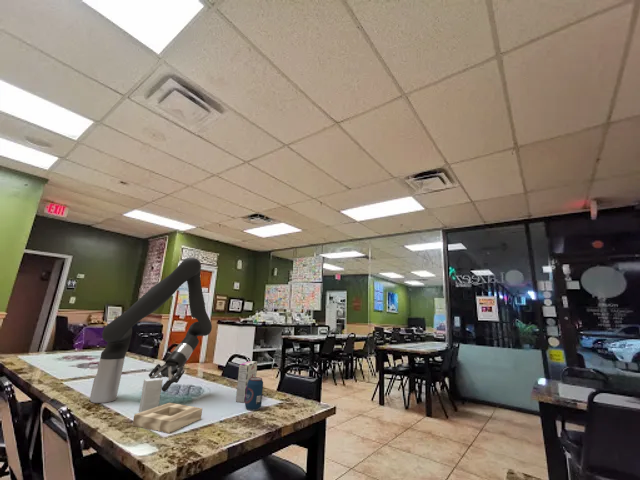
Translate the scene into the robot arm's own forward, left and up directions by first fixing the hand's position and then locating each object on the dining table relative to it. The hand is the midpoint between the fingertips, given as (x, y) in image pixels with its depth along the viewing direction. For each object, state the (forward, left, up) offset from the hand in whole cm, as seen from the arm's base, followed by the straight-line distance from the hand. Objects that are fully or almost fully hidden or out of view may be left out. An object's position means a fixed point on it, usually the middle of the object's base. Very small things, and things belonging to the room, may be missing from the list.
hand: (154, 389), depth 120 cm
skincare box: (0, -1, -8) cm, 8 cm away
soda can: (+34, +22, -8) cm, 41 cm away
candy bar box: (+24, +32, -8) cm, 40 cm away
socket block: (+15, -6, -8) cm, 18 cm away
